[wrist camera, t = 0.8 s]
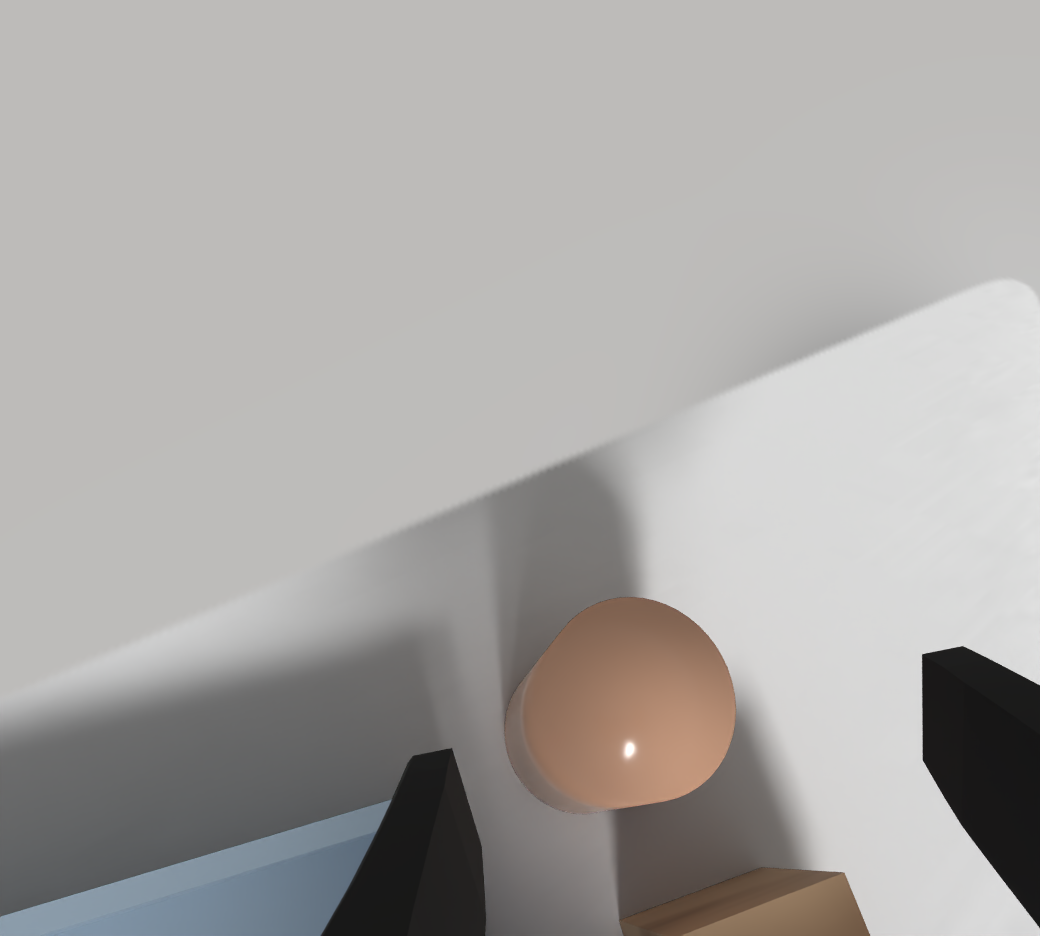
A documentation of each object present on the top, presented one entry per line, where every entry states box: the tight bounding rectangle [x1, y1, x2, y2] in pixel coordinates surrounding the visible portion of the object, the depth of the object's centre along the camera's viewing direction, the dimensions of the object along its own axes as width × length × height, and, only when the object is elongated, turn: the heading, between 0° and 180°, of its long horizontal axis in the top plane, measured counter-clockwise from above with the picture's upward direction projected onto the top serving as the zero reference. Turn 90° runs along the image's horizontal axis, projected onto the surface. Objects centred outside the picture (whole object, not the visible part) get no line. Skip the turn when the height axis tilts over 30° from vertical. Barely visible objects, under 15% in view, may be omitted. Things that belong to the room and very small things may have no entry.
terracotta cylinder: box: [505, 597, 736, 814], centre depth 22 cm, size 5×5×7 cm
